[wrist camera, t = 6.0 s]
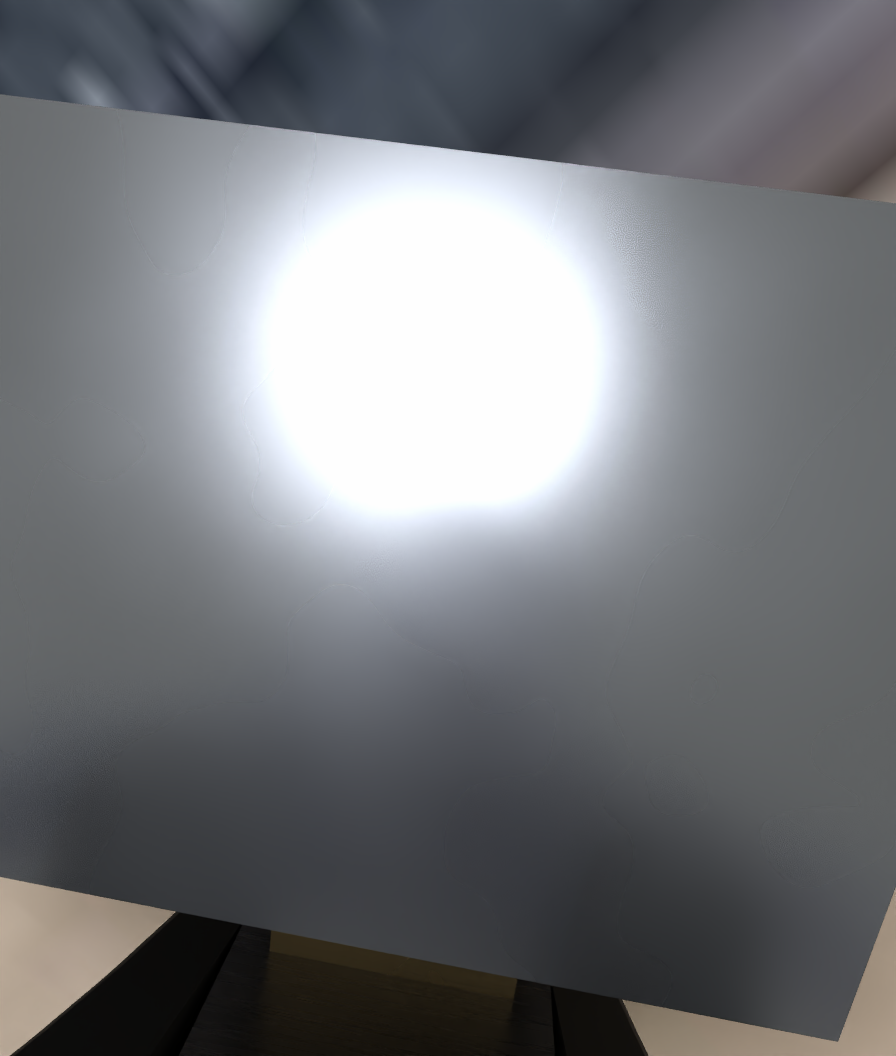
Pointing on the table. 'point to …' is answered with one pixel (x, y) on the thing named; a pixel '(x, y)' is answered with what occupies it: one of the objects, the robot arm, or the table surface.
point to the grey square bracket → (451, 555)
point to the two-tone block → (362, 1005)
